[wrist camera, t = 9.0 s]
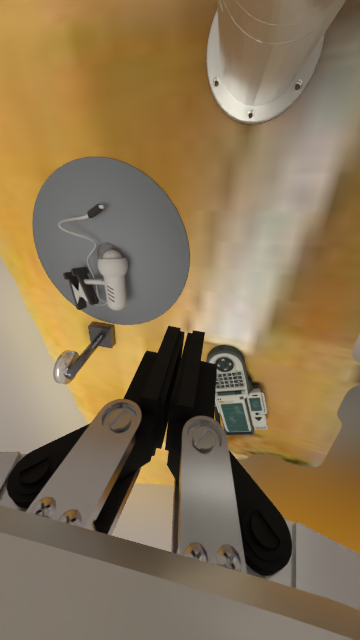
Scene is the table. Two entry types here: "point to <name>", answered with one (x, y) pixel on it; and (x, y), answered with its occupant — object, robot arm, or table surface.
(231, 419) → the communication device
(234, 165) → the table surface
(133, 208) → the mat
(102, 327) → the square-base wall hook
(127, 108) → the table surface
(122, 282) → the clip-on lamp
